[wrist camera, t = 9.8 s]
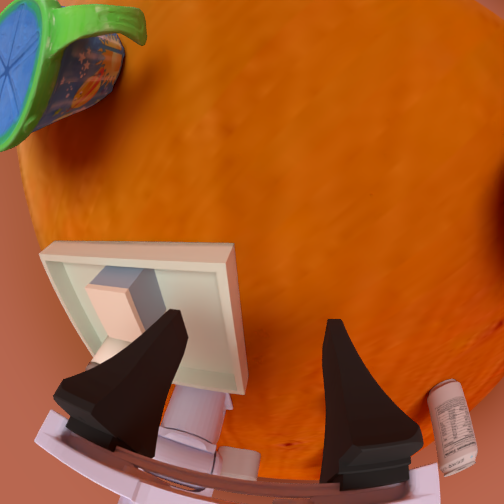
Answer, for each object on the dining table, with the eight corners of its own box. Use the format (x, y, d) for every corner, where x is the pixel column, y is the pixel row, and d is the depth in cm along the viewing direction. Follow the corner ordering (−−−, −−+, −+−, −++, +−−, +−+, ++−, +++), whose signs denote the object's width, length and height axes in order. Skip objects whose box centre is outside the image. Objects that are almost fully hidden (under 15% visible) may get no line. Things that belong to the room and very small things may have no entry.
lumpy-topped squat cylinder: (262, 451, 49) (256, 483, 41) (258, 462, 55) (254, 489, 48) (217, 444, 50) (209, 475, 42) (220, 457, 57) (214, 483, 49)
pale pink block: (166, 309, 26) (147, 345, 22) (130, 304, 27) (109, 336, 23) (151, 258, 23) (124, 293, 19) (113, 257, 24) (84, 287, 20)
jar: (145, 354, 32) (125, 395, 26) (117, 348, 33) (96, 385, 27) (133, 330, 30) (108, 373, 24) (104, 324, 30) (79, 362, 25)
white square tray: (248, 375, 31) (244, 394, 29) (106, 349, 35) (97, 363, 32) (234, 243, 22) (225, 263, 19) (54, 240, 25) (38, 253, 23)
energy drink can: (421, 401, 32) (434, 481, 19) (431, 382, 29) (449, 471, 16) (451, 392, 30) (468, 468, 18) (464, 373, 27) (486, 456, 15)
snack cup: (179, -9, 12) (100, -60, 3) (173, 112, 17) (77, 131, 8) (43, 43, 13) (-36, 49, 5) (42, 135, 19) (-36, 167, 10)
